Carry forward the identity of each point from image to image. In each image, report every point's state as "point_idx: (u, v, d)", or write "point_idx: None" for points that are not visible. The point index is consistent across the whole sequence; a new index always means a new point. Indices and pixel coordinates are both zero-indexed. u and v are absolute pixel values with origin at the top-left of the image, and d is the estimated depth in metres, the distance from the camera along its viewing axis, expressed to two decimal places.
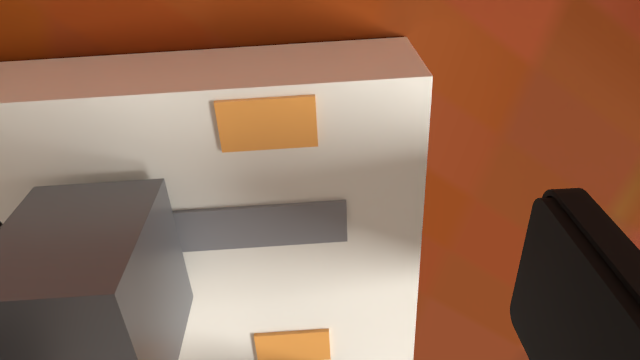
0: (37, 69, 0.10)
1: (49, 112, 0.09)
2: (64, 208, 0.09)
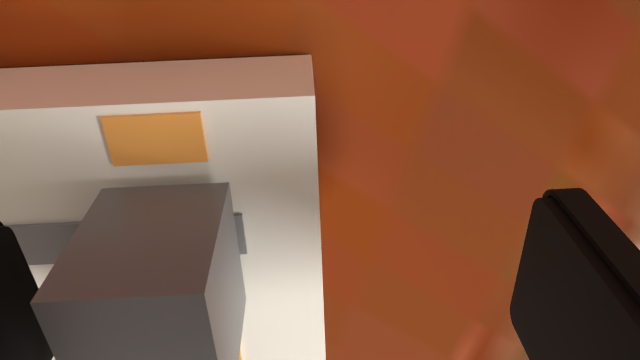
0: None
1: None
2: (137, 210, 0.09)
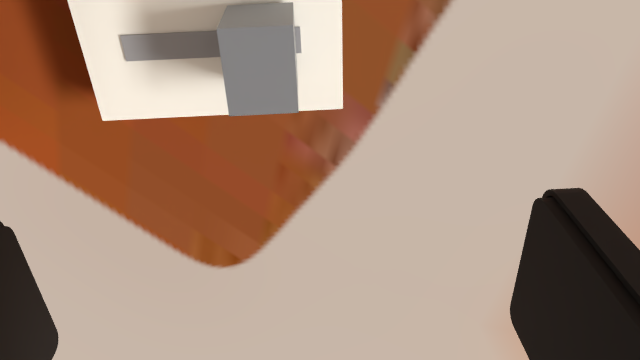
0: None
1: None
2: None
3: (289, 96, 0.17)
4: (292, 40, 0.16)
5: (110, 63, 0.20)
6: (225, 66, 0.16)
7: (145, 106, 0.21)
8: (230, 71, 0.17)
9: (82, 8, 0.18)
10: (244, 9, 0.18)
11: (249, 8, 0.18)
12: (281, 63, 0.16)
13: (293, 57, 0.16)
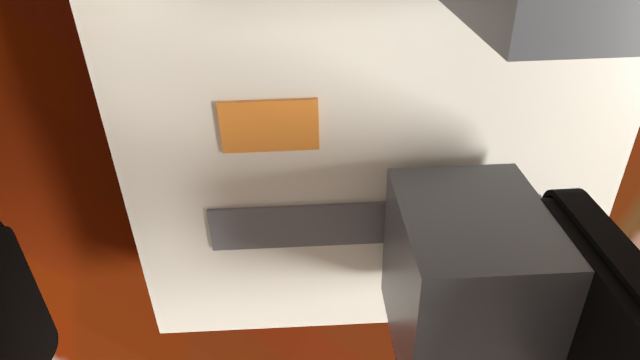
0: None
1: None
2: None
3: None
4: (583, 296, 0.07)
5: (182, 252, 0.11)
6: (423, 341, 0.07)
7: (237, 313, 0.12)
8: (431, 349, 0.08)
9: (139, 167, 0.10)
10: (434, 189, 0.09)
11: (442, 185, 0.09)
12: (544, 334, 0.08)
13: (573, 324, 0.07)
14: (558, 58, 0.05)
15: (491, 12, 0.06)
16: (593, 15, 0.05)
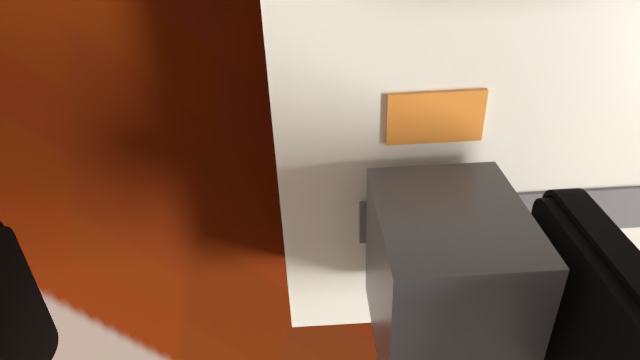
0: None
1: None
2: None
3: None
4: (557, 294, 0.07)
5: (327, 245, 0.11)
6: (398, 341, 0.07)
7: None
8: (407, 350, 0.08)
9: (300, 160, 0.10)
10: (412, 188, 0.09)
11: (420, 185, 0.09)
12: (521, 333, 0.07)
13: (549, 322, 0.07)
14: None
15: None
16: None
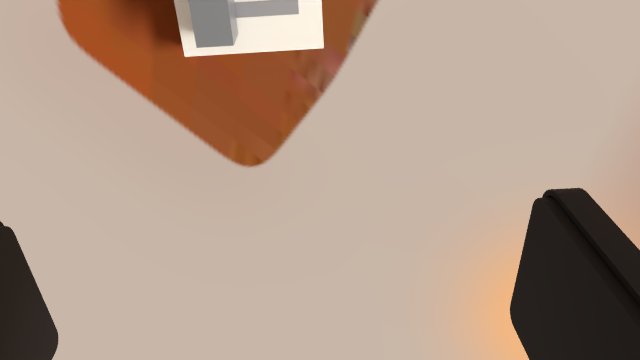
0: None
1: None
2: None
3: (228, 36, 0.32)
4: (227, 5, 0.31)
5: (191, 21, 0.35)
6: (193, 19, 0.32)
7: (209, 47, 0.36)
8: (196, 22, 0.32)
9: None
10: None
11: None
12: (222, 17, 0.32)
13: (228, 14, 0.32)
14: None
15: None
16: None
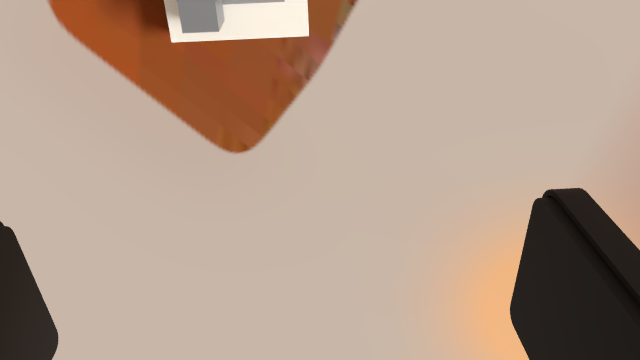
0: None
1: None
2: None
3: (213, 22, 0.33)
4: None
5: None
6: (179, 5, 0.32)
7: (196, 33, 0.36)
8: (182, 8, 0.32)
9: None
10: None
11: None
12: (208, 3, 0.32)
13: (214, 0, 0.32)
14: None
15: None
16: None
